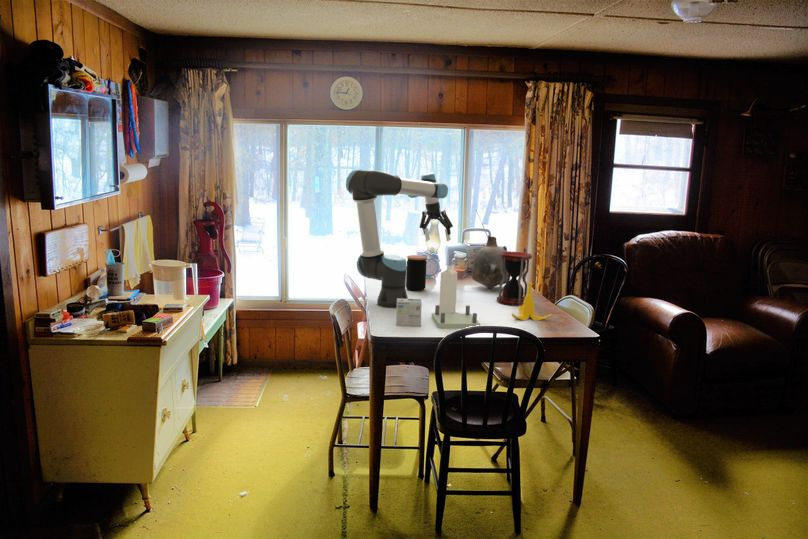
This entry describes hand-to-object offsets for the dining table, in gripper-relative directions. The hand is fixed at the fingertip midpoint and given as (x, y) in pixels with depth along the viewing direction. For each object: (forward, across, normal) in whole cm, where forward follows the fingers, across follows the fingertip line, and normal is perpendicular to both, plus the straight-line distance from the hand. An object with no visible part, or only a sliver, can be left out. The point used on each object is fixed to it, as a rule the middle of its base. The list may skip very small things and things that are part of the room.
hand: (438, 240), depth 346 cm
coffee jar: (+23, +9, +16) cm, 30 cm away
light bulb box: (+14, -32, +77) cm, 84 cm away
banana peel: (+28, -66, +29) cm, 78 cm away
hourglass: (+31, -44, +6) cm, 54 cm away
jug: (+33, -18, -17) cm, 41 cm away
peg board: (+18, -45, +61) cm, 78 cm away
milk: (+20, -32, +47) cm, 61 cm away
